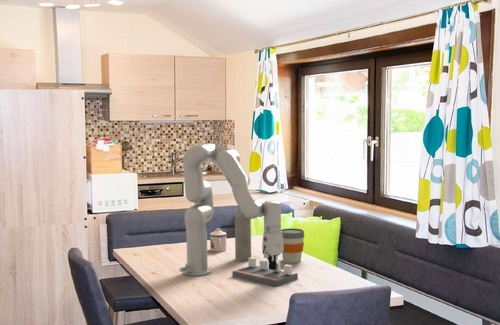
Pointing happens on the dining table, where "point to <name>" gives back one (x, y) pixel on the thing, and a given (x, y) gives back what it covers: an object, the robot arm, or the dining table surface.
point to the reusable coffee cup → (292, 244)
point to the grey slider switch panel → (265, 273)
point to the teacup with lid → (218, 241)
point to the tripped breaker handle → (278, 267)
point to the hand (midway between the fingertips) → (272, 269)
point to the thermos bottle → (242, 236)
